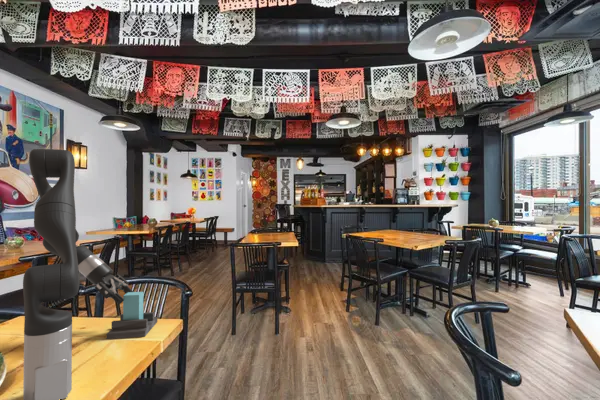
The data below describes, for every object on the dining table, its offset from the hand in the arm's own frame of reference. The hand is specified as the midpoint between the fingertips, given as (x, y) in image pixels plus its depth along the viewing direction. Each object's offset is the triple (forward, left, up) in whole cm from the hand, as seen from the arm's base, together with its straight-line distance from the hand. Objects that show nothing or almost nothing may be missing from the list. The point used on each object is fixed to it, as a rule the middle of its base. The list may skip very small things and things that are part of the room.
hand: (127, 298), depth 110 cm
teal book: (-2, -2, -10) cm, 10 cm away
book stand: (-1, -2, -12) cm, 13 cm away
